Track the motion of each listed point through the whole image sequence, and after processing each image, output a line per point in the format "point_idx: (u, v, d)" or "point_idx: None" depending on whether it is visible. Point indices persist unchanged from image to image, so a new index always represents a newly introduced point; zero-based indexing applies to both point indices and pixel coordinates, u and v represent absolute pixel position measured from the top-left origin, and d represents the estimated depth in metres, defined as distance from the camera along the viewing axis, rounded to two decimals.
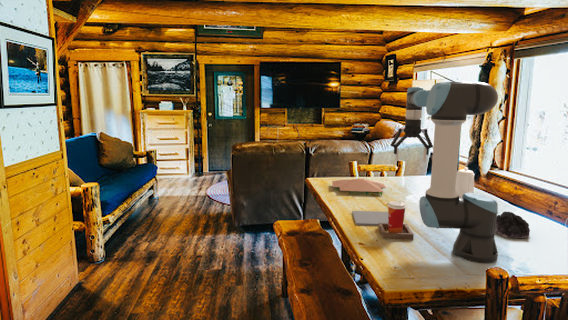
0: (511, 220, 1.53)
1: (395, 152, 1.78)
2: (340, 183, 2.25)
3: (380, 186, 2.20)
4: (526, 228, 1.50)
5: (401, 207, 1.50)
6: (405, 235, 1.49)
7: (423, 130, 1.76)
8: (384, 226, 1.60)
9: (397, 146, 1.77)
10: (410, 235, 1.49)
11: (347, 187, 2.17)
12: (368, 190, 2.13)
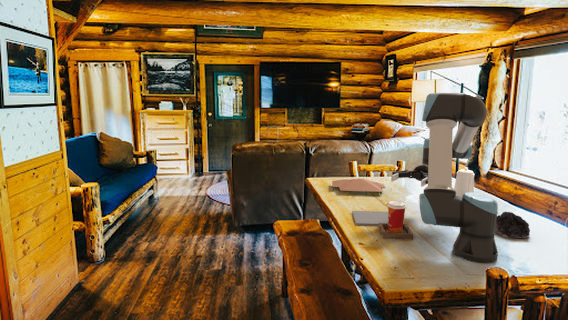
0: (511, 220, 1.53)
1: (393, 175, 1.66)
2: (340, 183, 2.26)
3: (380, 186, 2.20)
4: (526, 228, 1.50)
5: (401, 207, 1.50)
6: (405, 235, 1.49)
7: None
8: (384, 226, 1.60)
9: (398, 172, 1.68)
10: (410, 235, 1.49)
11: (347, 187, 2.17)
12: (368, 190, 2.14)
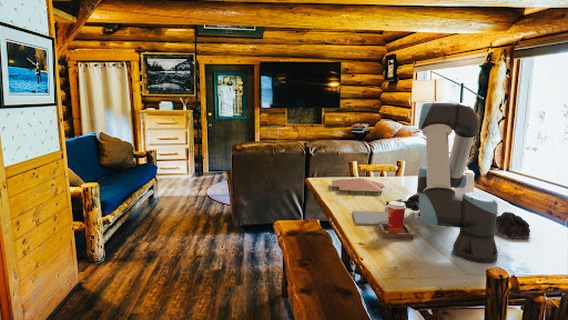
0: (511, 220, 1.53)
1: (387, 205, 1.66)
2: (339, 183, 2.27)
3: (379, 186, 2.21)
4: (526, 228, 1.49)
5: (401, 207, 1.50)
6: (405, 235, 1.49)
7: None
8: (384, 226, 1.60)
9: None
10: (410, 235, 1.49)
11: (346, 186, 2.18)
12: (367, 189, 2.14)
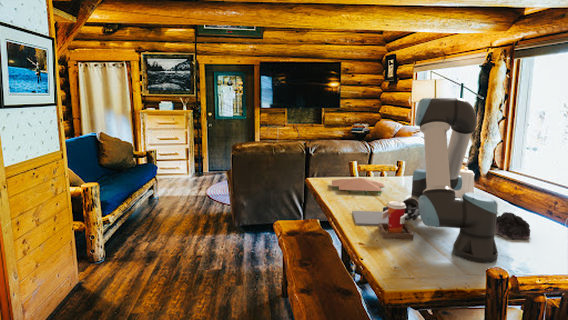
0: (512, 221, 1.52)
1: (384, 211, 1.56)
2: (339, 182, 2.27)
3: (379, 185, 2.21)
4: (527, 229, 1.49)
5: (401, 207, 1.50)
6: (405, 235, 1.49)
7: None
8: (384, 226, 1.60)
9: None
10: (410, 235, 1.49)
11: (346, 186, 2.18)
12: (367, 189, 2.15)
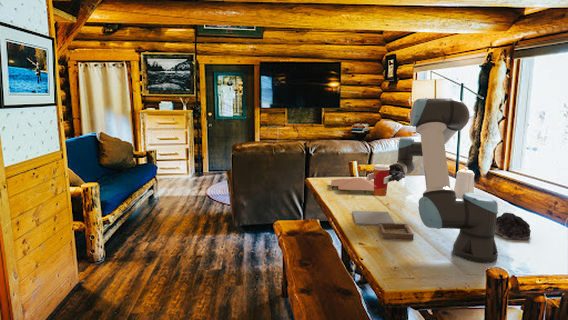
0: (512, 221, 1.52)
1: (370, 174, 1.68)
2: (339, 182, 2.28)
3: None
4: (527, 229, 1.49)
5: (385, 168, 1.62)
6: (405, 235, 1.49)
7: None
8: (384, 226, 1.60)
9: None
10: (410, 235, 1.49)
11: (346, 186, 2.19)
12: (366, 189, 2.16)
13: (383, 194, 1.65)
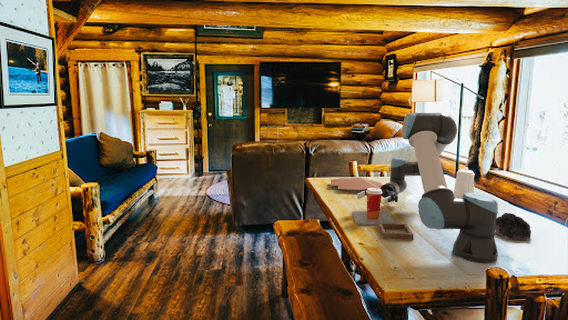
0: (512, 222, 1.51)
1: (360, 192, 1.77)
2: (338, 182, 2.29)
3: (378, 185, 2.23)
4: (528, 230, 1.48)
5: (377, 193, 1.68)
6: (405, 235, 1.49)
7: (394, 193, 1.78)
8: (384, 226, 1.60)
9: (364, 190, 1.79)
10: (410, 235, 1.49)
11: (345, 186, 2.20)
12: (366, 188, 2.17)
13: (376, 217, 1.71)
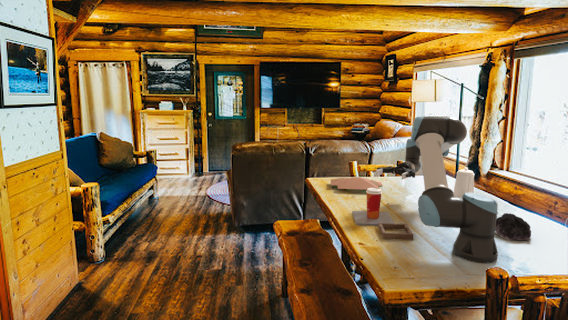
0: (513, 222, 1.51)
1: (378, 170, 1.84)
2: (338, 181, 2.30)
3: (377, 184, 2.24)
4: (528, 230, 1.48)
5: (377, 193, 1.68)
6: (405, 235, 1.49)
7: (411, 170, 1.85)
8: (384, 226, 1.60)
9: (382, 168, 1.86)
10: (410, 235, 1.49)
11: (345, 185, 2.21)
12: (365, 188, 2.17)
13: (376, 217, 1.71)
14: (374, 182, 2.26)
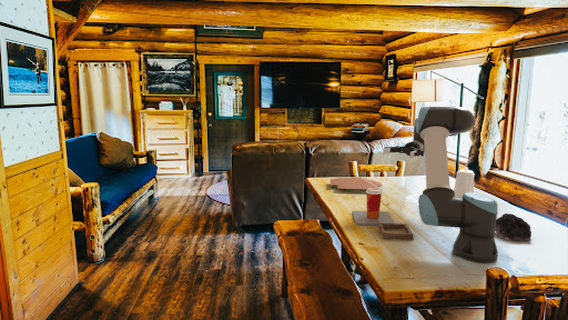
0: (513, 222, 1.50)
1: None
2: (338, 181, 2.30)
3: (377, 184, 2.25)
4: (528, 230, 1.48)
5: (377, 192, 1.68)
6: (405, 235, 1.49)
7: None
8: (384, 226, 1.60)
9: (389, 147, 1.82)
10: (410, 235, 1.49)
11: (344, 185, 2.21)
12: (365, 188, 2.18)
13: (376, 217, 1.71)
14: (374, 182, 2.27)
